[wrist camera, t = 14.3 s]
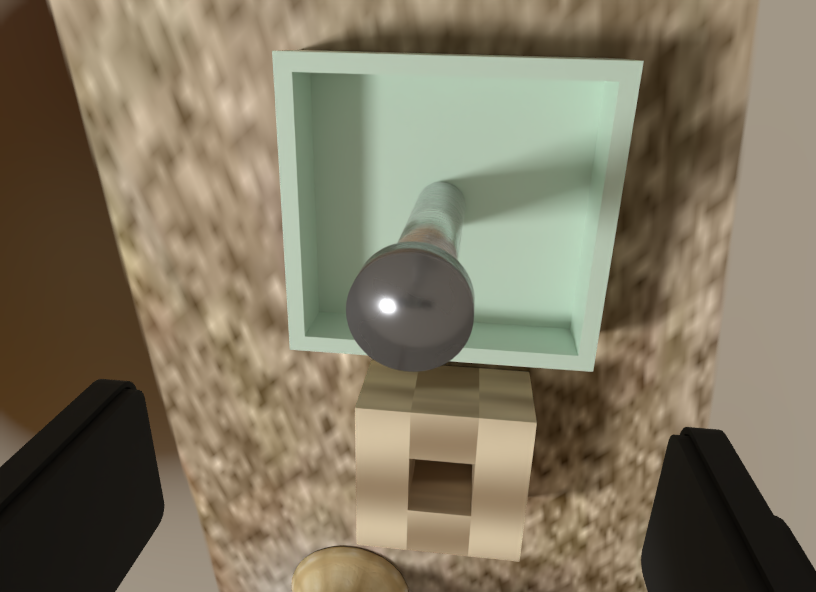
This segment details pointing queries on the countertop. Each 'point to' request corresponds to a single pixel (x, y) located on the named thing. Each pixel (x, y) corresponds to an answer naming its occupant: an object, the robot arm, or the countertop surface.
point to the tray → (471, 173)
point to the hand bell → (346, 572)
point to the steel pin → (416, 289)
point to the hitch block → (444, 460)
